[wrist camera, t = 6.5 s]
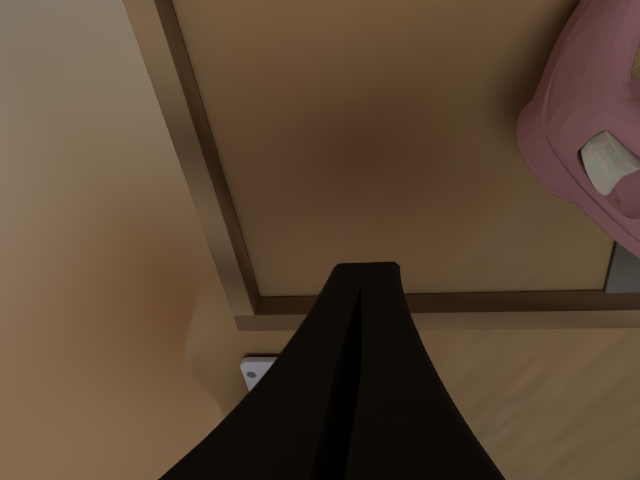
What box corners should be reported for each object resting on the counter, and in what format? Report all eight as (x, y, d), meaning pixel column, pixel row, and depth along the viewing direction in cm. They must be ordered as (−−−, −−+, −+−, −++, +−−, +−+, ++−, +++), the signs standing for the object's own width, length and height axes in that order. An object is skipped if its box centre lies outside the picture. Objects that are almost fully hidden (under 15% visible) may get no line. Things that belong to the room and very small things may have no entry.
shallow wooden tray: (818, 304, 20) (839, 326, 19) (245, 312, 25) (238, 330, 24) (1221, -386, 10) (1311, -414, 9) (94, -142, 14) (72, -142, 13)
